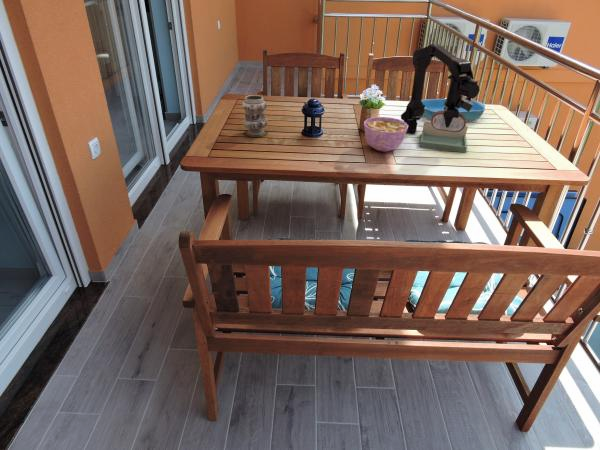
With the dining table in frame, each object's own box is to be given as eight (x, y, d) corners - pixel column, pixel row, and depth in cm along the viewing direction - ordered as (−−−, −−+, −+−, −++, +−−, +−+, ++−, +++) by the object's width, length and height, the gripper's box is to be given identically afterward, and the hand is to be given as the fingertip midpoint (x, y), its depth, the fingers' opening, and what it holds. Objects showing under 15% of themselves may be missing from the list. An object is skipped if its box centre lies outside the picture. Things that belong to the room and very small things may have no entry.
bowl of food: (369, 136, 207) (372, 114, 200) (409, 144, 199) (413, 121, 193) (355, 151, 192) (357, 127, 186) (397, 160, 185) (401, 135, 178)
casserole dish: (425, 124, 223) (427, 111, 219) (411, 111, 241) (413, 98, 237) (490, 122, 227) (493, 110, 223) (471, 109, 245) (474, 97, 241)
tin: (463, 131, 189) (468, 113, 184) (463, 134, 187) (468, 115, 182) (429, 127, 193) (433, 109, 188) (429, 129, 190) (432, 111, 185)
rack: (419, 147, 198) (422, 131, 193) (421, 134, 210) (424, 120, 206) (465, 152, 193) (469, 137, 189) (464, 140, 206) (468, 125, 201)
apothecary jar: (262, 127, 215) (261, 92, 205) (271, 135, 206) (270, 99, 196) (240, 131, 211) (237, 95, 201) (248, 139, 202) (246, 102, 192)
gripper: (475, 100, 170) (466, 136, 179) (474, 87, 185) (465, 121, 194) (447, 97, 173) (439, 132, 182) (448, 84, 188) (440, 118, 197)
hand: (447, 126), depth 189 cm, fingers closed on tin, 2 cm apart
